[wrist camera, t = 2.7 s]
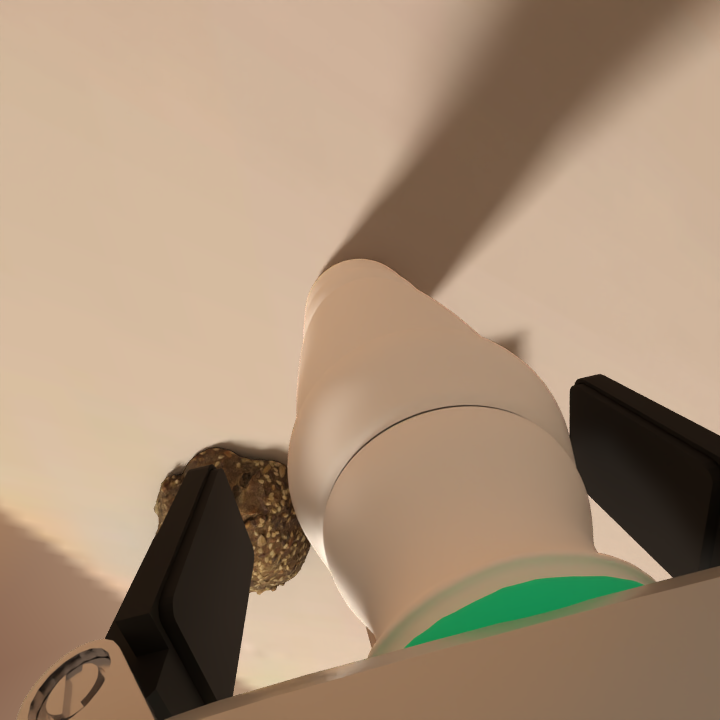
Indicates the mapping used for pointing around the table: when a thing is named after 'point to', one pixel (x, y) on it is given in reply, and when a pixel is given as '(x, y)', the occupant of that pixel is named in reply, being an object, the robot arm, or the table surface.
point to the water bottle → (434, 468)
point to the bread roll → (254, 513)
